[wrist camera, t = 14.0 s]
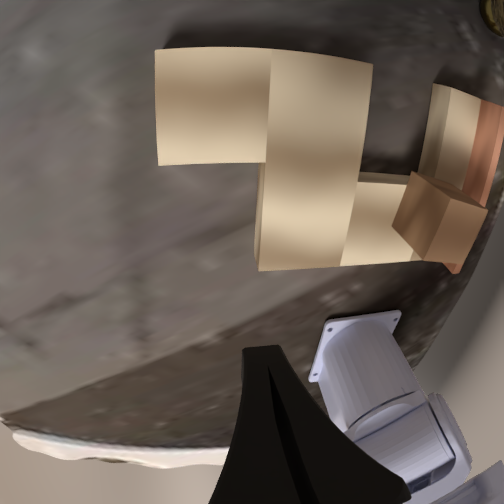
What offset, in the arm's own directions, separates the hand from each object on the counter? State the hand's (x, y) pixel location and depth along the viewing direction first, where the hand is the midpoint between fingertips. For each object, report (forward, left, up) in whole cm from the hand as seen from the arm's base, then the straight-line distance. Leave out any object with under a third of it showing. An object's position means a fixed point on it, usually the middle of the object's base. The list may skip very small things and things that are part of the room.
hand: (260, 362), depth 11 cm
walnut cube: (+3, -12, -8) cm, 15 cm away
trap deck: (+4, -6, -10) cm, 13 cm away
